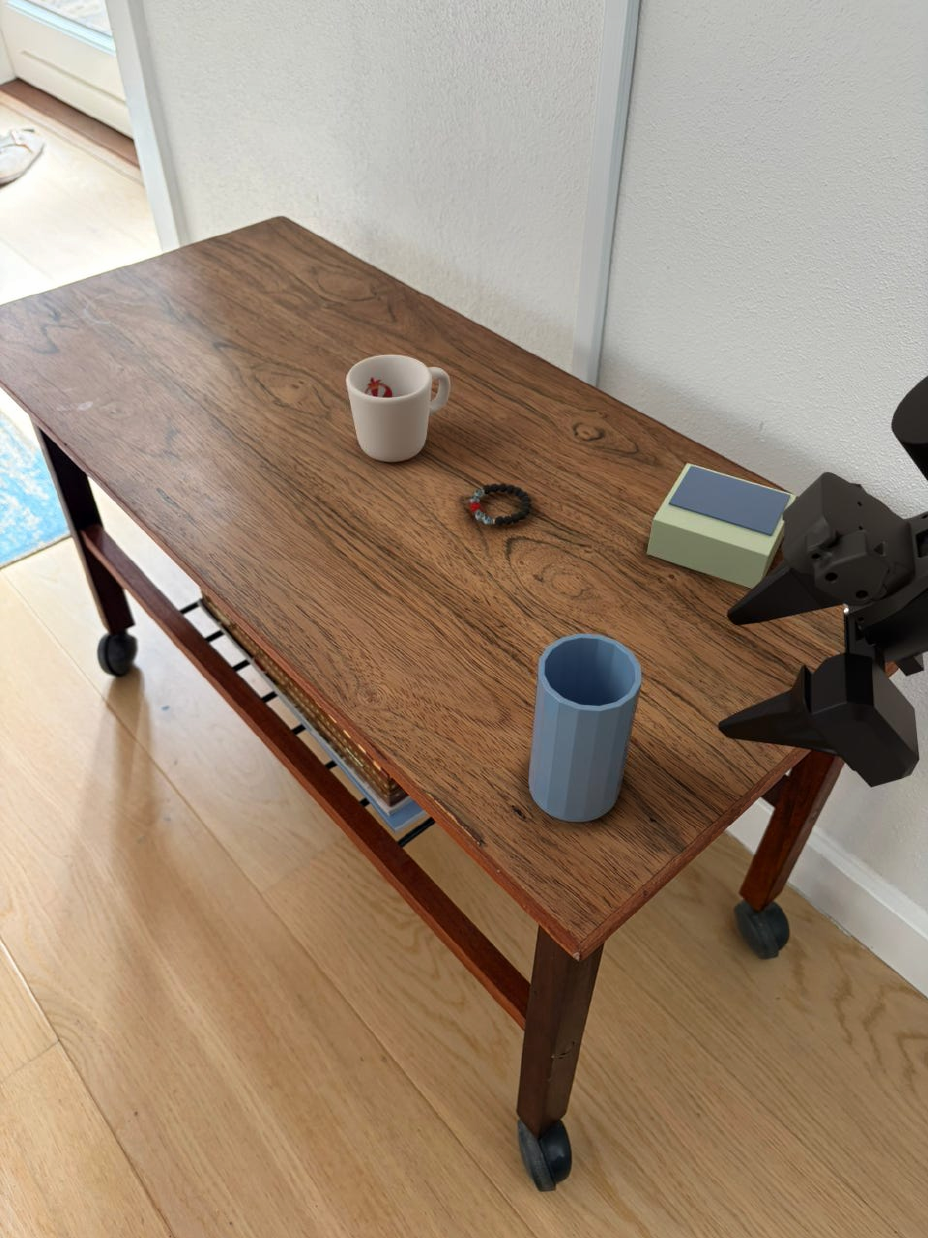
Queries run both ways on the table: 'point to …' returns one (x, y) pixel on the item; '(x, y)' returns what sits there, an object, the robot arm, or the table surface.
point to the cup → (394, 404)
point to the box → (720, 525)
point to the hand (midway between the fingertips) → (726, 672)
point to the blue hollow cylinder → (582, 725)
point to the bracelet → (507, 520)
